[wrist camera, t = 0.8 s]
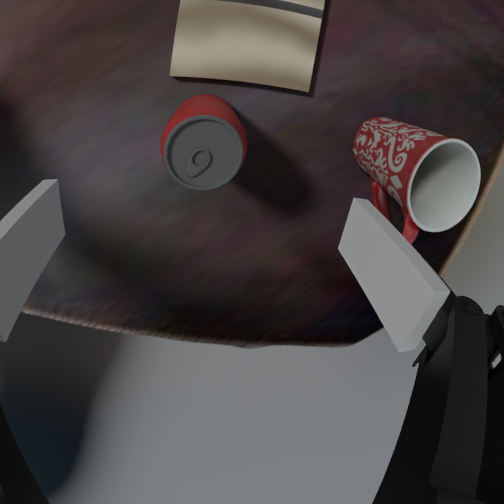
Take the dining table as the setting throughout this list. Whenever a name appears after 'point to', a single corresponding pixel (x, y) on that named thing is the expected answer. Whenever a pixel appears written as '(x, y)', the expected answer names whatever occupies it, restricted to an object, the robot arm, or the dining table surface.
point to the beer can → (203, 143)
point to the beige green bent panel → (248, 41)
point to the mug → (418, 173)
